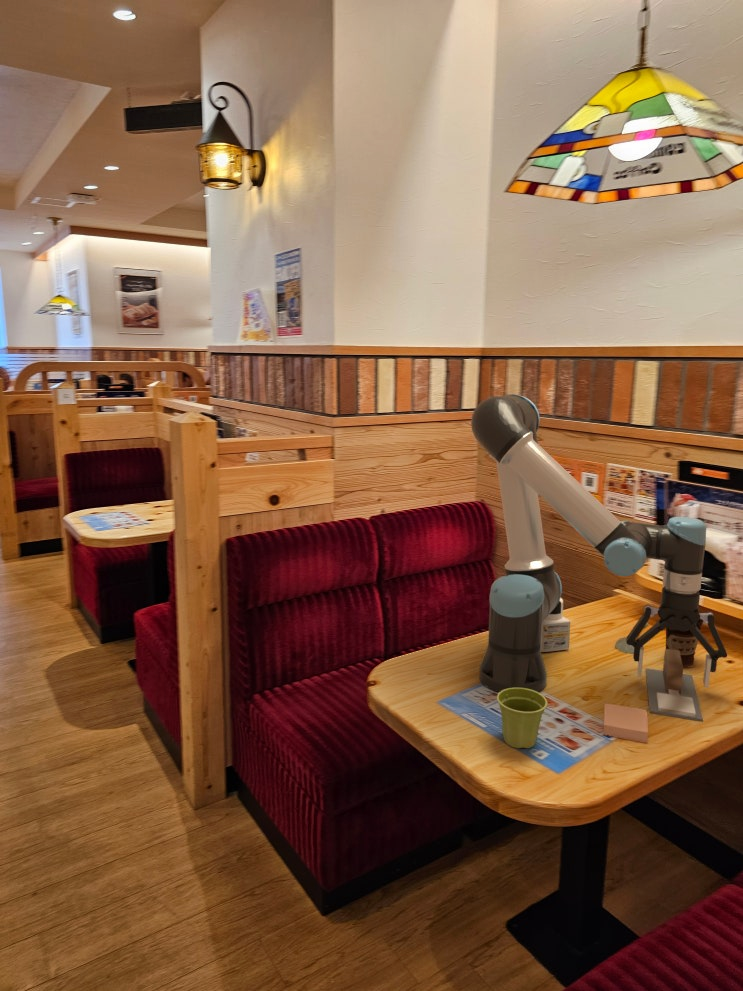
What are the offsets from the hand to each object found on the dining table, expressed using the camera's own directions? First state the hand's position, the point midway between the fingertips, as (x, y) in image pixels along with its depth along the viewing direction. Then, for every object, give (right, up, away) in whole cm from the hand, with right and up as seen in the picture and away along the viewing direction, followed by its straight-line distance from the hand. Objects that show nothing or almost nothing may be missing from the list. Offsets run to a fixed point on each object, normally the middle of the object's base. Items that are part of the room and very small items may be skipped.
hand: (672, 679), depth 149 cm
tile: (-15, -3, -11) cm, 19 cm away
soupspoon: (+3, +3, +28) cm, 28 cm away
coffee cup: (+8, 0, +13) cm, 15 cm away
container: (-22, +2, +23) cm, 31 cm away
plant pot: (-38, -6, -20) cm, 44 cm away
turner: (-1, -2, -2) cm, 3 cm away
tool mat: (-1, -3, -2) cm, 3 cm away
